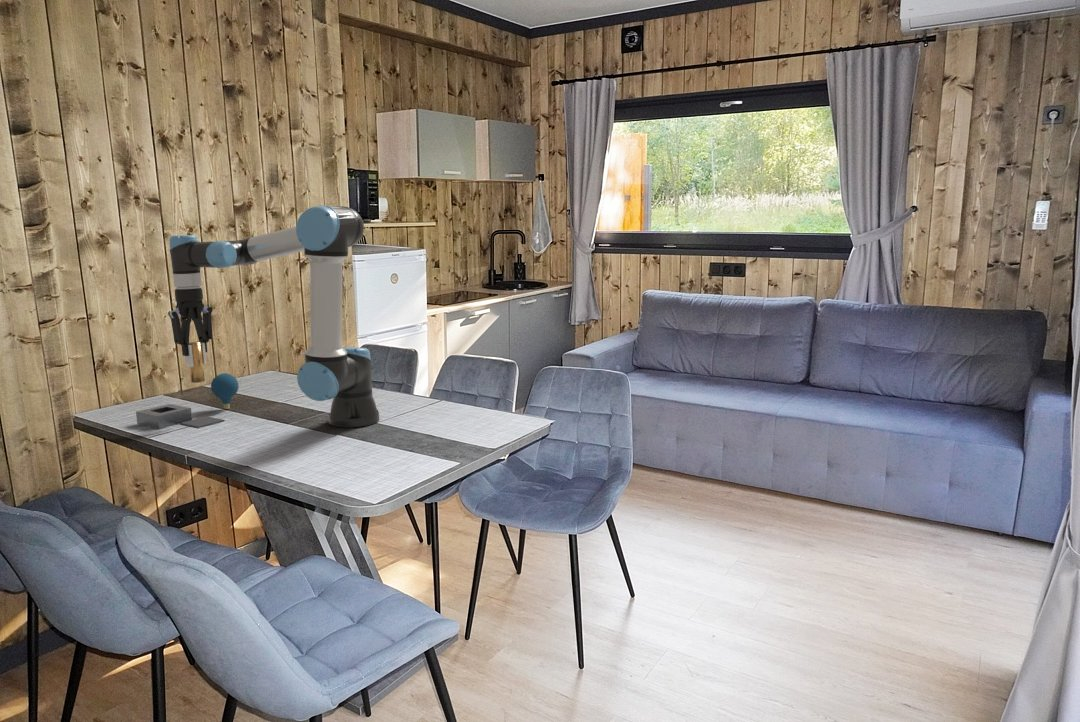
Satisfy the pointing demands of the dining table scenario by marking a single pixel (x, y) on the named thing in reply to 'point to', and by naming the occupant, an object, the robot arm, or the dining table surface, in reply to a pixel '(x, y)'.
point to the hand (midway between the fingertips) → (196, 364)
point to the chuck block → (163, 416)
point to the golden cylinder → (197, 363)
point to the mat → (202, 422)
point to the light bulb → (224, 388)
